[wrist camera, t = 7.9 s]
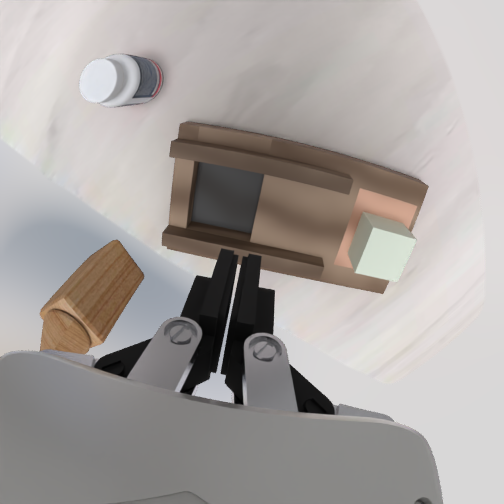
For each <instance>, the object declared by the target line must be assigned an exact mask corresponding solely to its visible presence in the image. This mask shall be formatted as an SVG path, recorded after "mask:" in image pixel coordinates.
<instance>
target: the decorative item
mask: <svg viewBox="0 0 504 504" xmlns="http://www.w3.org/2000/svg"><path fill="white" fill-rule="evenodd" d="M143 279H144V274H143V272H142V271H141V270H140V268H139V267H138V266H137V264H136V263H135V262H134V260H133V259H132V258H131V256H130V255H129V254H128V252H127V251H126V250H125V248H124V247H123V245H122V244H121V243H120V241H118V240H113V241H111V242H110V243H108V244H107V245H105V246H104V247H103V248H101V249H100V250H98V251H97V252H95V253H94V254H92V255H91V256H90V257H89V258H88V259H87V260H86V261H85V262H84V263H83V264H82V265H81V266H80V267H79V268H78V269H77V270H76V271H75V272H74V273H73V274H72V275H71V276H70V278H69V279H68V280H67V281H66V282H65V283H64V284H63V285H62V286H61V287H60V288H59V290H58V291H57V292H56V293H55V294H54V295H53V296H52V297H51V298H50V300H49V301H48V302H47V303H46V304H45V305H44V307H43V308H42V309H41V312H40V316H41V317H42V319H43V320H44V322H43V330H42V338H41V346H40V351H42V350H45V349H51V350H57V351H64V352H71V353H78V354H86V353H87V352H88V351H89V348H92V347H94V346H97V345H100V344H102V343H104V341H105V339H106V338H107V336H108V334H109V333H110V331H111V329H112V328H113V326H114V324H115V323H116V321H117V320H118V318H119V316H120V315H121V313H122V312H123V310H124V308H125V307H126V305H127V304H128V302H129V300H130V299H131V297H132V295H133V294H134V293H135V291H136V290H137V288H138V286H139V285H140V283H141V282H142V280H143Z"/></svg>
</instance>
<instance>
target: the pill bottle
mask: <svg viewBox="0 0 504 504" xmlns="http://www.w3.org/2000/svg"><path fill="white" fill-rule="evenodd" d="M162 81H163V75H162V71H161V69H160V67H159V66H158V64H156V63H155V62H154V61H152V60H150V59H146V58H141V57H137V56H132V55H127V54H113V55H110V56H108V57H106V58H101V59H96V60H94V61H92V62H90V63H89V64H88V65H87V66H86V67H85V68H84V70H83V72H82V74H81V76H80V81H79V88H80V92H81V95H82V96H83V98H84V99H85V100H87V101H88V102H91V103H99V104H101V105H102V106H105V107H121V106H129V105H138V104H143V103H146V102H148V101H150V100H151V99H153V98H154V97H155V96H156V95H157V94H158V92H159V91H160V89H161V86H162Z"/></svg>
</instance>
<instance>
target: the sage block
mask: <svg viewBox="0 0 504 504" xmlns="http://www.w3.org/2000/svg"><path fill="white" fill-rule="evenodd" d="M416 241H417V239H416V238H415V237H414V236H413V234H412V233H411V232H410V231H409V230H408V228H407V227H406V226H405V225H404V224H403V223H400V222H397V221H394V220H391V219H387V218H384V217H380V216H377V215H373V214H370V213H366V212H362V215H361V218H360V221H359V224H358V226H357V229H356V232H355V234H354V237H353V240H352V242H351V245H350V248H349V250H348V256H349V259H350V261H351V264H352V267H353V269H354V272H355V273H357V274H362V275H367V276H371V277H376V278H380V279H385V280H389V281H394V282H398V280H399V278H400V276H401V274H402V271H403V269H404V267H405V265H406V263H407V261H408V259H409V257H410V254H411V252H412V250H413V248H414V246H415V243H416Z"/></svg>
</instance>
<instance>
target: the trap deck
mask: <svg viewBox="0 0 504 504" xmlns="http://www.w3.org/2000/svg"><path fill="white" fill-rule="evenodd" d="M169 157H173V158H175V165H174V174H173V183H172V193H171V203H170V214H169V225H168V226H167V228H166V229H165V230H164V231H163V233H162V246H167V249H171V250H175V251H180V252H184V253H189V254H193V255H198V256H202V257H207V258H211V259H216V260H217V259H218V256H219V253H220V250H221V248H223V249H228V250H233V251H234V254H235V255H239V257H238V263H237V264H239V265H241V263H242V258H243V256H246V257H248V255H249V254H254V255H259V256H262V258H261V268H260V269H263V270H268V271H272V272H277V273H282V274H287V275H292V276H296V277H301V278H306V279H311V280H316V281H321V282H326V283H331V284H336V285H341V286H346V287H351V288H356V289H361V290H366V291H371V292H376V293H381V294H383V293H384V291H385V289H386V287H387V285H388V283H389V280H385V279H380V278H376V277H371V276H367V275H362V274H357V273H355V272H354V269H353V267H352V264H351V261H350V259H349V256H348V250H349V248H350V245H351V242H352V240H353V237H354V234H355V232H356V229H357V226H358V224H359V221H360V218H361V215H362V212H366V213H370V214H373V215H377V216H380V217H384V218H387V219H391V220H394V221H397V222H400V223H403V224H404V225H405V226H406V227H407V228H408V230H409V231H410V232H411V231H412V229H413V226H414V224H415V221H416V219H417V216H418V214H419V211H420V209H421V206H422V203H423V201H424V198H425V195H426V192H427V189H428V187H429V186H428V185H426V184H425V183H423V182H422V181H420V180H419V179H416V178H413V177H411V176H408V175H405V174H402V173H400V172H397V171H394V170H391V169H388V168H385V167H382V166H379V165H376V164H373V163H370V162H366V161H363V160H360V159H357V158H353V157H350V156H347V155H343V154H340V153H336V152H333V151H329V150H325V149H322V148H318V147H314V146H310V145H306V144H302V143H298V142H294V141H290V140H285V139H281V138H277V137H272V136H267V135H263V134H258V133H253V132H248V131H242V130H237V129H231V128H226V127H220V126H213V125H207V124H200V123H193V122H184V123H181V124H180V127H179V134H178V139H175V140H173V141H171V147H170V155H169Z"/></svg>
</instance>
